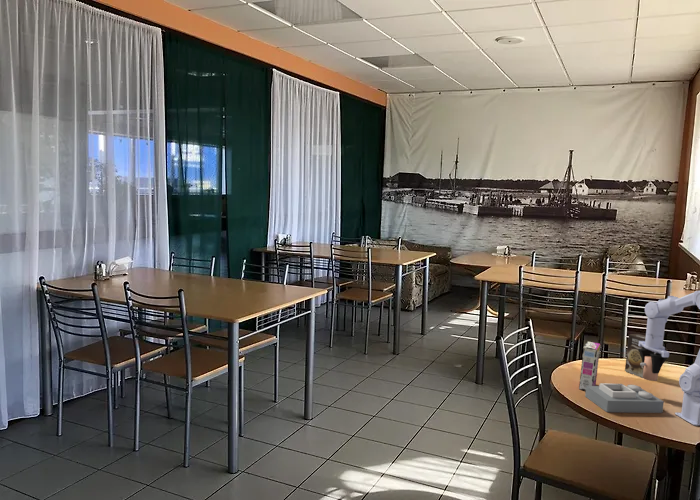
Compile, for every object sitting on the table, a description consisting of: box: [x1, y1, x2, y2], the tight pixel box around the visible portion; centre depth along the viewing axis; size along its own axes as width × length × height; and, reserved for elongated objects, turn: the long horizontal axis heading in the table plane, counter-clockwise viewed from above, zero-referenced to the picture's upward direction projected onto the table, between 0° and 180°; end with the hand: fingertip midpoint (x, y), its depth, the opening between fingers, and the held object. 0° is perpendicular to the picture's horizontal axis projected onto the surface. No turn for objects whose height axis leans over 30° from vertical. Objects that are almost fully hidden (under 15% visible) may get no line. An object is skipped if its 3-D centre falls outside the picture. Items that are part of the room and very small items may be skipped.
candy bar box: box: [578, 341, 601, 392], centre depth 207 cm, size 11×5×16 cm, turn 149°
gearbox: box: [584, 382, 664, 414], centre depth 191 cm, size 14×20×6 cm
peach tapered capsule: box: [640, 356, 659, 382], centre depth 201 cm, size 5×7×8 cm
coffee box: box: [624, 333, 656, 379], centre depth 226 cm, size 9×6×16 cm
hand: (650, 370), depth 201 cm, fingers closed on peach tapered capsule, 5 cm apart
